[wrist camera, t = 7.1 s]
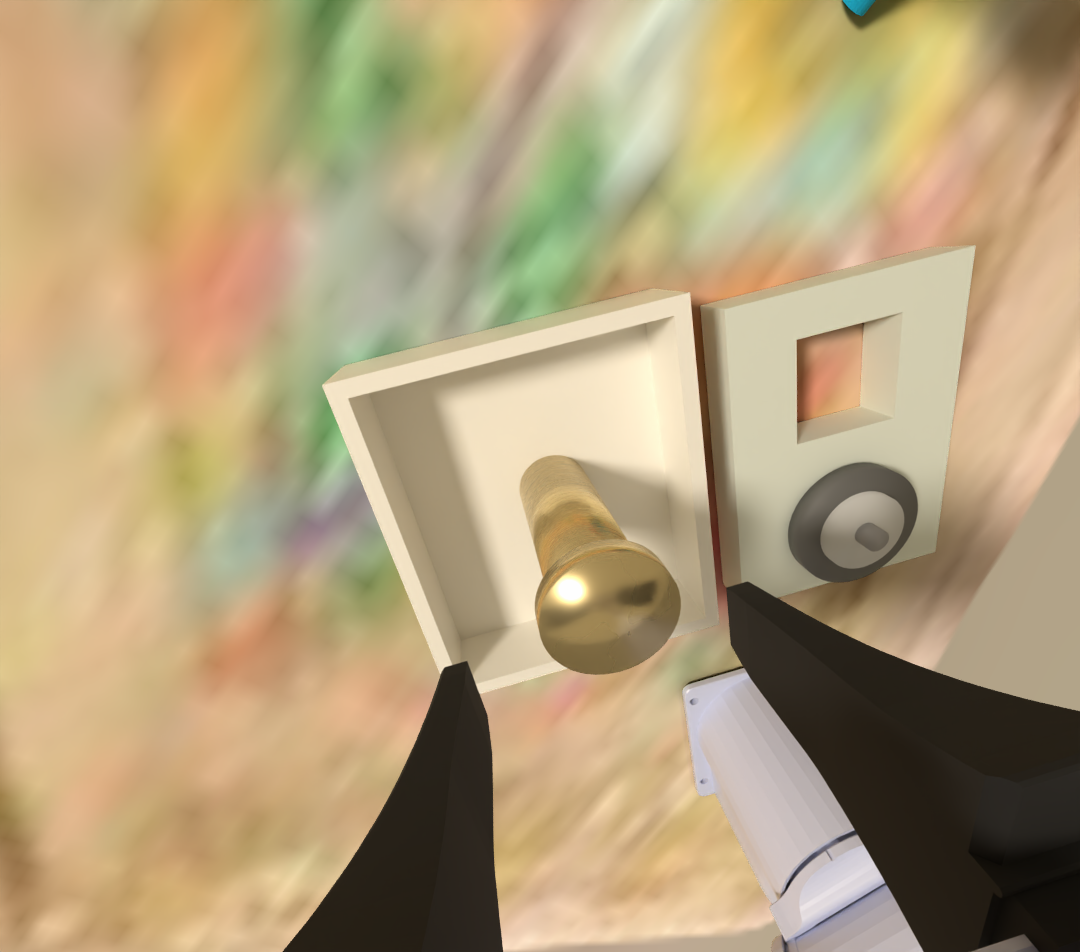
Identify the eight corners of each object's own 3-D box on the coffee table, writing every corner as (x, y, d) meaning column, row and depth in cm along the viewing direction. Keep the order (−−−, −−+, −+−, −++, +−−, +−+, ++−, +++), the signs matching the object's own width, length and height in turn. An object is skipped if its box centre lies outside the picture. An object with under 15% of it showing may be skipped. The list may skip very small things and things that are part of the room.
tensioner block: (902, 532, 26) (976, 576, 23) (723, 583, 26) (768, 637, 22) (929, 247, 21) (1034, 242, 17) (700, 305, 20) (755, 314, 16)
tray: (686, 579, 25) (719, 624, 22) (452, 645, 25) (451, 702, 22) (651, 288, 20) (689, 292, 16) (344, 365, 19) (321, 385, 16)
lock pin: (604, 515, 23) (687, 652, 15) (519, 538, 22) (554, 690, 14) (590, 433, 21) (673, 537, 13) (497, 457, 21) (524, 578, 13)
